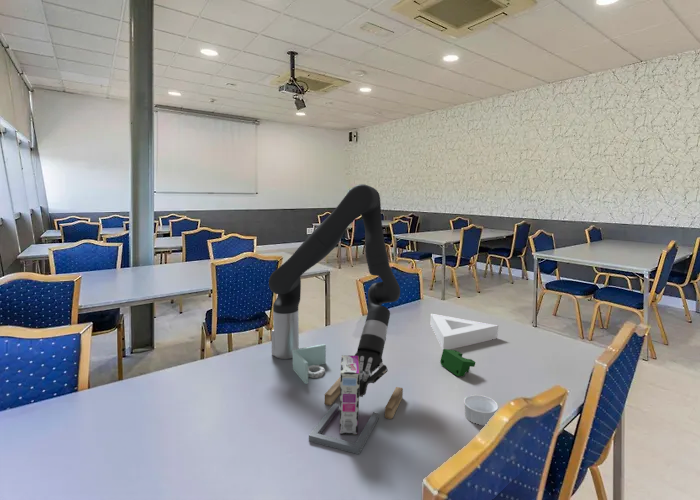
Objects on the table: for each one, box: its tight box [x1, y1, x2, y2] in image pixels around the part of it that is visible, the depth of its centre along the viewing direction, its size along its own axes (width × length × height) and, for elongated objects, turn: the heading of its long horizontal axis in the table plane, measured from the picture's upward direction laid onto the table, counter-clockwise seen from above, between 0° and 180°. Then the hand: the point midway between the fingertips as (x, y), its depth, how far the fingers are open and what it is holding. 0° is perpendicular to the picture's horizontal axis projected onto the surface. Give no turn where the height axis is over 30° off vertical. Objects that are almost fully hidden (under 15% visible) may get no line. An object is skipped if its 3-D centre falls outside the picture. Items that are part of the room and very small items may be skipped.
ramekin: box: [463, 394, 499, 427], centre depth 103 cm, size 9×9×4 cm
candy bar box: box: [339, 355, 360, 436], centre depth 99 cm, size 11×5×16 cm, turn 0°
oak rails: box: [324, 377, 404, 420], centre depth 110 cm, size 20×12×3 cm, turn 69°
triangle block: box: [429, 313, 499, 351], centre depth 158 cm, size 30×26×6 cm
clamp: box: [439, 349, 476, 377], centre depth 131 cm, size 12×6×9 cm, turn 15°
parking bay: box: [308, 403, 380, 455], centre depth 97 cm, size 13×16×2 cm
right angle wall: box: [292, 343, 327, 385], centre depth 128 cm, size 12×12×8 cm
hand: (359, 395), depth 105 cm, fingers closed
